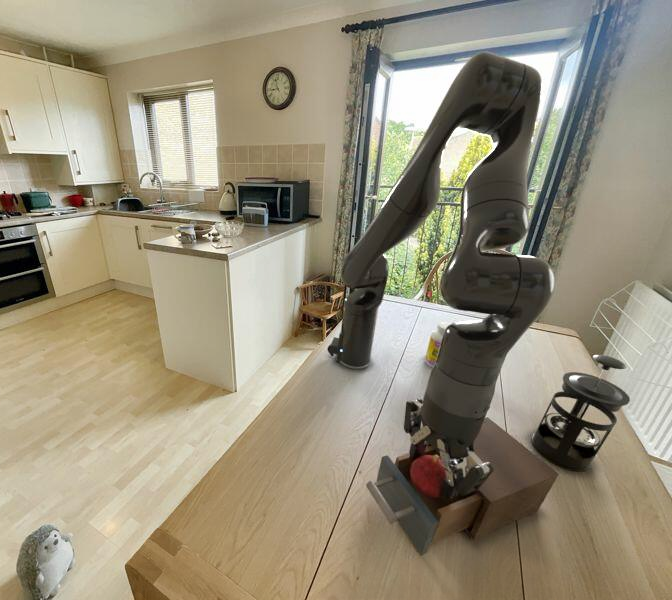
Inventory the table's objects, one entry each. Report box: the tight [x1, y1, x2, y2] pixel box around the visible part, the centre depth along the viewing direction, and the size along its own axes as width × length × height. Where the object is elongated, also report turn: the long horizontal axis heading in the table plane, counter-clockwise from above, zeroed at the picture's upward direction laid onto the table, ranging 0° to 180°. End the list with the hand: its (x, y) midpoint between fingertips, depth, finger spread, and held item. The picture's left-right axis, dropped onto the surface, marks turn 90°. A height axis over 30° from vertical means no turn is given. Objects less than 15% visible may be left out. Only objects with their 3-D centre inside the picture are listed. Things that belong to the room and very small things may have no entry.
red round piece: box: [410, 455, 446, 498], centre depth 49 cm, size 6×6×8 cm
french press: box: [530, 354, 631, 473], centre depth 60 cm, size 12×9×23 cm
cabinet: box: [425, 416, 560, 541], centre depth 55 cm, size 15×13×10 cm
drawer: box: [365, 446, 484, 556], centre depth 51 cm, size 18×11×8 cm, turn 108°
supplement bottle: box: [424, 321, 452, 368], centre depth 89 cm, size 7×7×13 cm
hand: (430, 476), depth 50 cm, fingers closed on red round piece, 6 cm apart
